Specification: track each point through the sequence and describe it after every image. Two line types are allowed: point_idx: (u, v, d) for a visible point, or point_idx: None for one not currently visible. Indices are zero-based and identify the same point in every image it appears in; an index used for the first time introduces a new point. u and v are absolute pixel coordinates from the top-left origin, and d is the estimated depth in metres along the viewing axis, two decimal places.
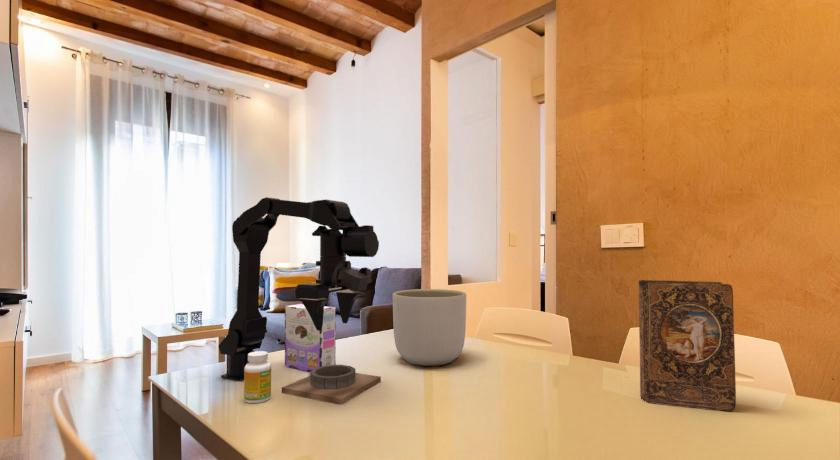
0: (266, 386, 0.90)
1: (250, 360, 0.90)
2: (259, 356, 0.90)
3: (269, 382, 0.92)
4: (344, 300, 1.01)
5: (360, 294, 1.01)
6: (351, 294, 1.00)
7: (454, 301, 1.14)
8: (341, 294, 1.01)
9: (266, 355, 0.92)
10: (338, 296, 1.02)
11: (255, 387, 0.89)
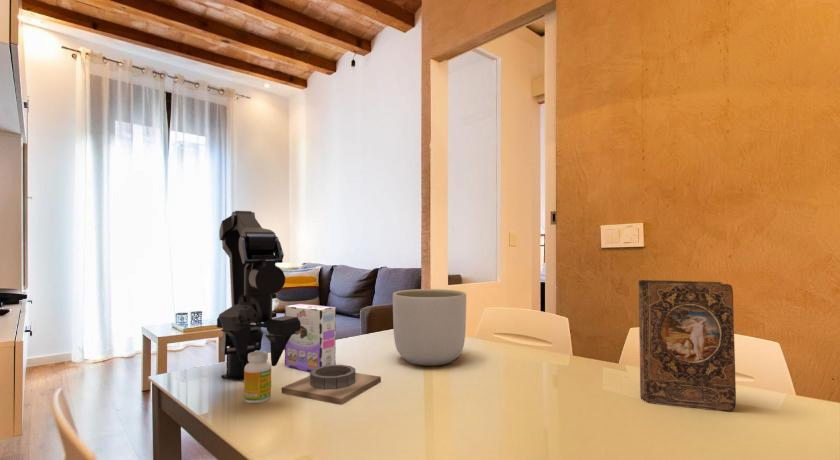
0: (266, 386, 0.90)
1: (250, 360, 0.90)
2: (259, 356, 0.90)
3: (269, 382, 0.92)
4: None
5: (273, 337, 0.87)
6: None
7: (454, 301, 1.14)
8: None
9: (266, 355, 0.92)
10: None
11: (255, 387, 0.89)
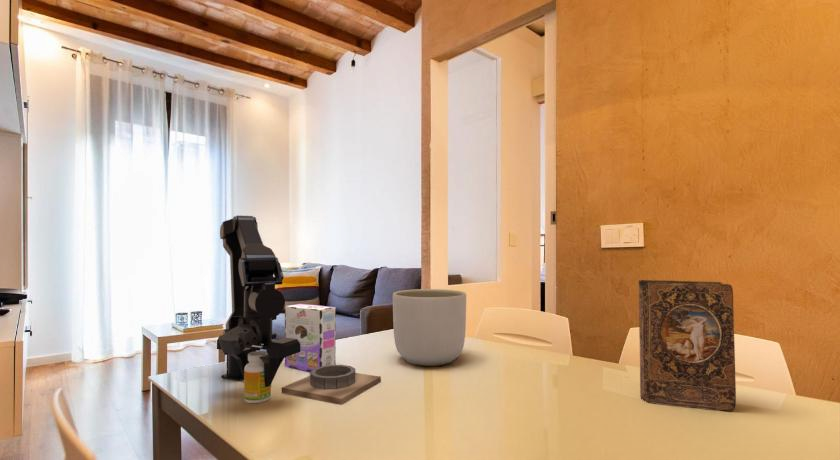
0: None
1: (250, 360, 0.90)
2: (259, 356, 0.90)
3: None
4: None
5: (266, 359, 0.87)
6: None
7: (454, 301, 1.14)
8: None
9: None
10: None
11: (255, 387, 0.89)
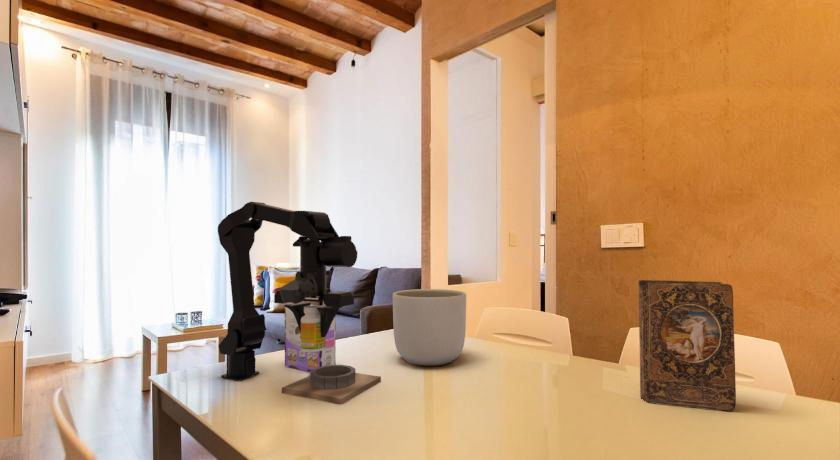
0: None
1: (306, 312, 0.96)
2: (315, 308, 0.96)
3: None
4: None
5: (323, 309, 0.93)
6: None
7: (454, 301, 1.14)
8: None
9: None
10: None
11: (312, 337, 0.94)
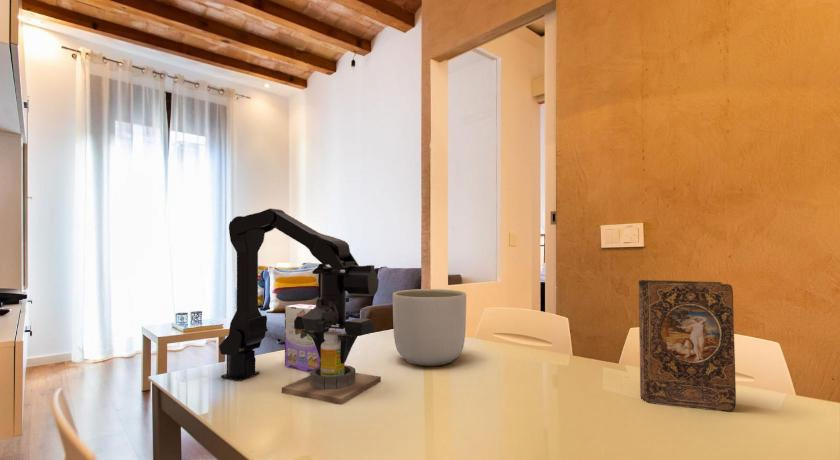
0: None
1: (327, 338, 0.98)
2: (335, 335, 0.98)
3: None
4: None
5: (344, 337, 0.95)
6: None
7: (454, 301, 1.14)
8: None
9: None
10: None
11: (333, 363, 0.97)
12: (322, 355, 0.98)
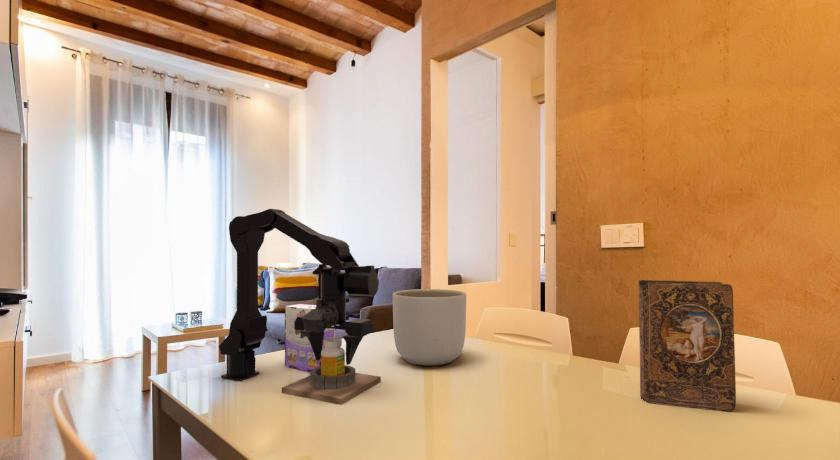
0: (341, 369, 0.98)
1: (327, 345, 0.98)
2: (335, 342, 0.98)
3: (344, 366, 0.99)
4: None
5: (350, 338, 0.94)
6: None
7: (454, 301, 1.14)
8: None
9: (341, 341, 0.99)
10: None
11: (333, 370, 0.97)
12: (322, 362, 0.98)
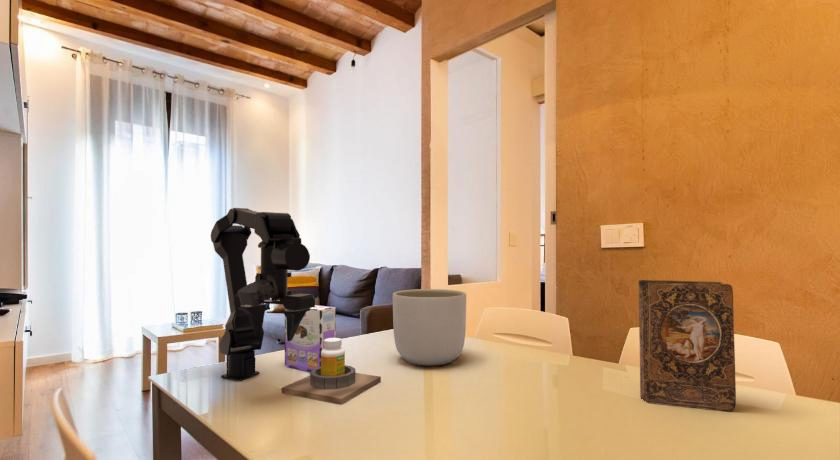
0: (341, 369, 0.98)
1: (327, 345, 0.98)
2: (335, 342, 0.98)
3: (343, 366, 0.99)
4: None
5: (289, 313, 0.91)
6: None
7: (454, 301, 1.14)
8: None
9: (340, 341, 0.99)
10: None
11: (333, 370, 0.97)
12: (322, 362, 0.98)
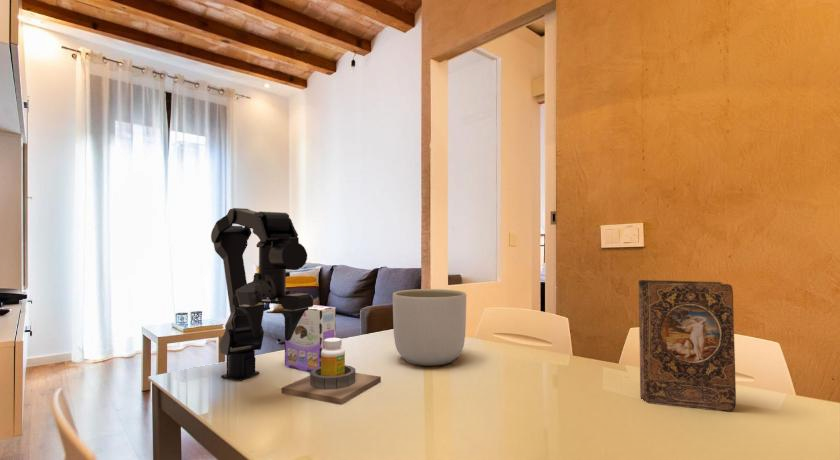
0: (341, 369, 0.98)
1: (327, 345, 0.98)
2: (335, 342, 0.98)
3: (344, 366, 0.99)
4: None
5: (287, 312, 0.91)
6: None
7: (454, 301, 1.14)
8: None
9: (341, 341, 0.99)
10: None
11: (333, 370, 0.97)
12: (322, 362, 0.98)
